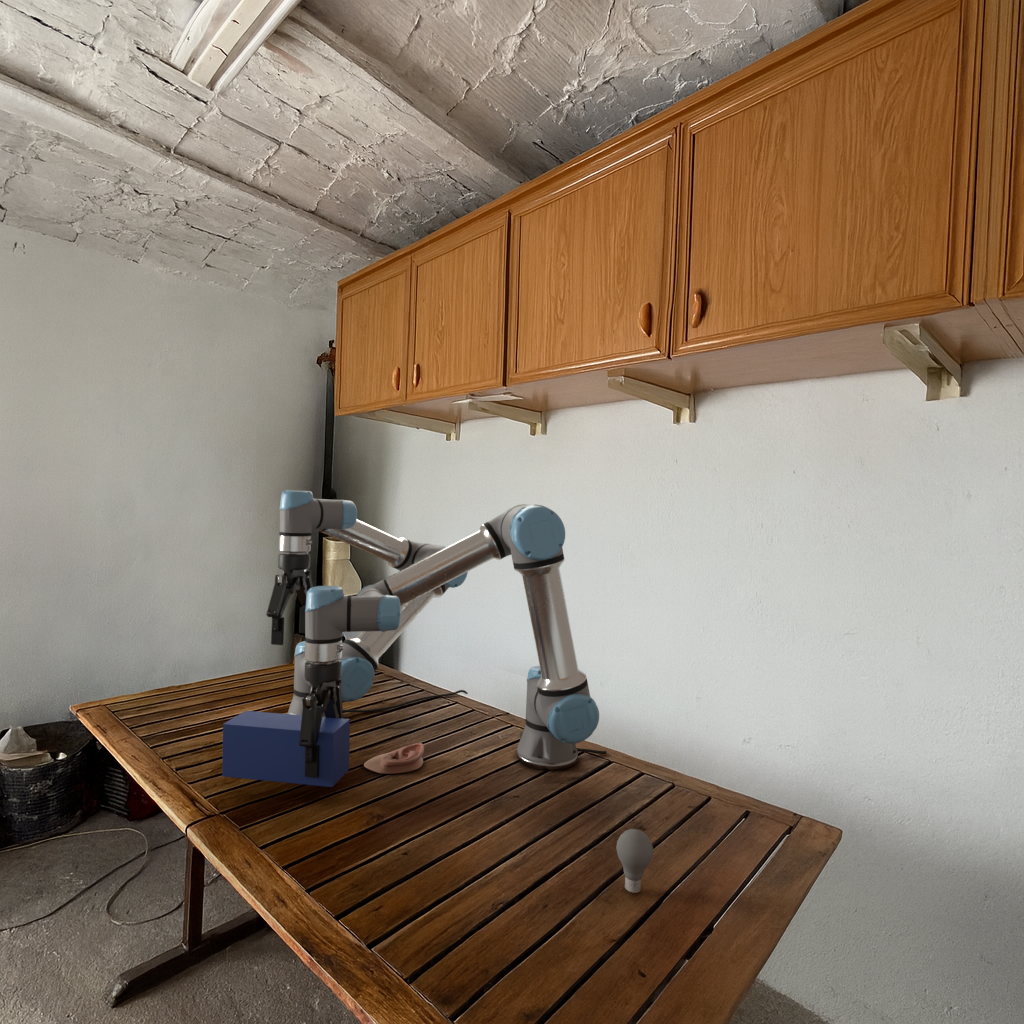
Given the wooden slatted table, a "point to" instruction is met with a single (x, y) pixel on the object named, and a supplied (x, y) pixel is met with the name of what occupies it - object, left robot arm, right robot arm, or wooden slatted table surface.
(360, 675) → the left robot arm
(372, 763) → the anatomical model
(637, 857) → the light bulb
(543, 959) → the wooden slatted table surface
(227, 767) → the box
